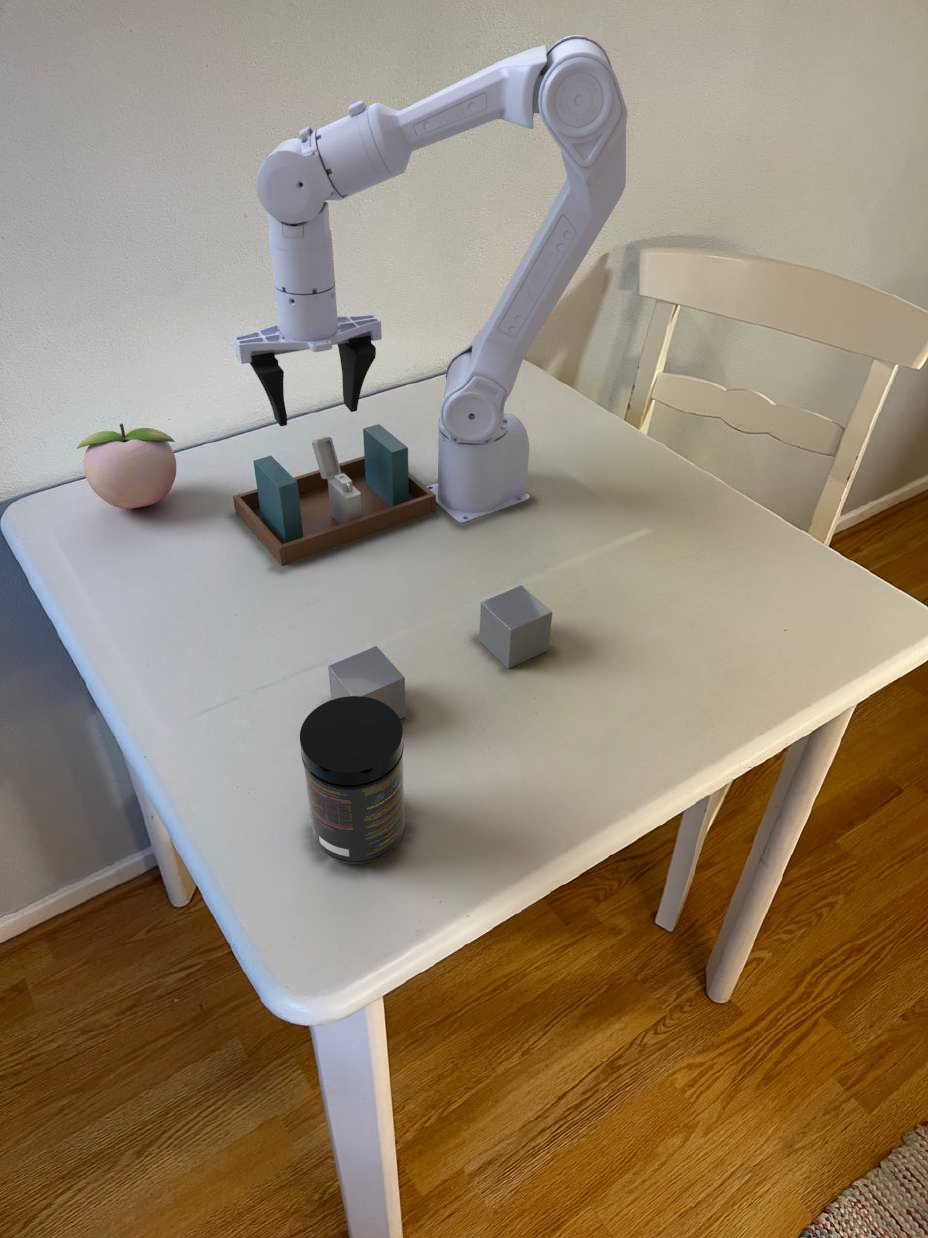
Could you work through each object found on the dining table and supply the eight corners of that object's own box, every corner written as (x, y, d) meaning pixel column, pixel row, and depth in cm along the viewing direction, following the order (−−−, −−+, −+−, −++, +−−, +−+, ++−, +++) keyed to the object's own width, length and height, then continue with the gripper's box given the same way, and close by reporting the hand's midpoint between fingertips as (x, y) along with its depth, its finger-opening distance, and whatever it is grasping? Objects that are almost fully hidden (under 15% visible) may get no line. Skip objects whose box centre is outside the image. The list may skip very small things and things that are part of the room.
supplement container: (420, 808, 67) (419, 711, 60) (382, 882, 62) (376, 785, 55) (338, 782, 69) (328, 684, 62) (295, 851, 64) (279, 754, 57)
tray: (383, 468, 104) (382, 449, 102) (436, 514, 97) (436, 495, 95) (235, 515, 96) (232, 495, 94) (281, 569, 89) (279, 549, 87)
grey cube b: (378, 684, 77) (376, 645, 74) (405, 716, 74) (405, 677, 71) (331, 705, 75) (327, 665, 72) (358, 739, 72) (355, 699, 69)
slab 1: (278, 512, 95) (271, 454, 91) (304, 540, 92) (297, 481, 87) (261, 518, 95) (252, 460, 90) (286, 546, 91) (279, 487, 86)
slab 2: (381, 479, 101) (378, 423, 96) (409, 504, 97) (408, 447, 93) (365, 484, 100) (362, 428, 96) (393, 509, 96) (391, 452, 92)
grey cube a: (518, 622, 83) (521, 584, 81) (548, 650, 81) (552, 612, 78) (478, 640, 81) (480, 601, 79) (508, 669, 79) (511, 630, 76)
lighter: (363, 528, 94) (359, 461, 88) (348, 533, 93) (344, 466, 88) (331, 497, 98) (325, 431, 93) (317, 501, 97) (310, 435, 92)
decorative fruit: (101, 539, 92) (76, 453, 85) (91, 499, 97) (67, 415, 91) (194, 520, 95) (177, 435, 88) (179, 481, 100) (162, 399, 94)
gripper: (241, 310, 80) (260, 446, 88) (392, 287, 85) (395, 417, 94) (220, 283, 84) (239, 415, 93) (364, 263, 90) (369, 389, 98)
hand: (316, 414), depth 94 cm, fingers open, 7 cm apart
